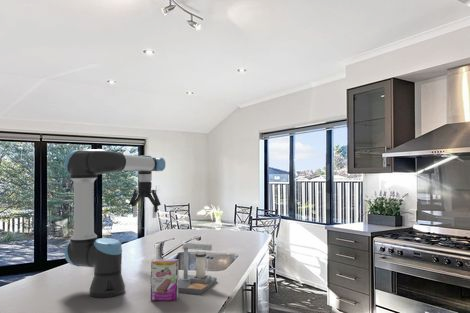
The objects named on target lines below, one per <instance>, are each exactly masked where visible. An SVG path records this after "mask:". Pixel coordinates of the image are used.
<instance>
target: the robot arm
mask: <svg viewBox="0 0 470 313" xmlns="http://www.w3.org/2000/svg"><path fill="white" fill-rule="evenodd" d="M165 168H166V160H165V159H164V158H163V157H152V156H151V155H130V154H129V155H128V154H124V153H123V152H119V151H113V150H107V149H102V148H97V149H94V148H93V149H83V148H82V149H75V150H72V151H70V153H68V154H67V156H66V157H65V160H64V169H65V171H66V172H67V173H68V174H69V175H70V176H69V178H70V179H69V180H71V181H72V182H73V234H72V235H71V236H70V238H69V240H70V241H68V242H67V243H66V245H65V248H64V252H63V253H64V258H65V260H66V262H67V263H68V264H69V265H71V266H75V267H84V268H86V267H87V268H93V277H92V281H91V284H90V288H89V296H90V297H92V298H100V299H102V298H103V299H104V298H112V297H117V296H120V295H121V294H124V293H125V291H126V284H125V282H124V278H123V274H122V263H123V262H122V258H123V256H122V255H123V247H122V245H123V244H122V242H121V241H120V240H119V239H115V238H109V237H108V238H106V237H102V238H98V235H97V234H96V233H95V215H94V214H95V206H94V204H95V196H94V195H95V191H94V190H95V181H96V180H97V179H98V175H104V174H109V173H110V174H111V173H121V172H123V171H128V172H138V181H139V182H138V188H137V189H133V194H132V197H131V199H130V201H129V203H128V204H129V205H130V206H131V211H132V217H133V218H137V217H138V216H137V215H138V212H137V211H138V206H137V204H138V203H139V201H141V200H142V198H148V199H149V201H150V202H151V204H152V219H156V218H157V212H158V207H160V206H161V202H160V199H159V196H158V194H157V190H156V189H152V177H153V176H152V175H153V174H152V173H153V172H163V171H164V170H165Z"/></svg>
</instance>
